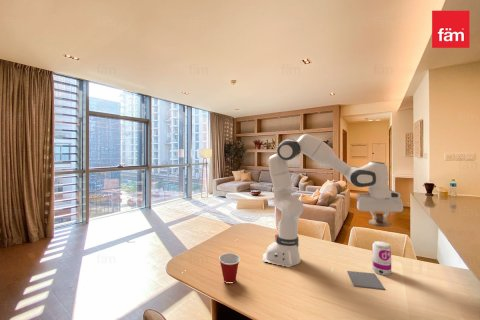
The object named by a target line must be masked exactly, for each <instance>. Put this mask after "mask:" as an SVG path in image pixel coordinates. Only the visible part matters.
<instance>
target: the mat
mask: <svg viewBox="0 0 480 320" xmlns="http://www.w3.org/2000/svg"><path fill="white" fill-rule="evenodd" d="M346 272H347V274H348V276H349V279H350V282H351V283H352V286H353V287H355V288H357V287H358V288H366V289H374V290H382V291H385V290H386V287H384V285H383V283H382V282H381V280H380V279H379V278H378V276H377V275H376V272H375V273H374V272H363V271H353V270H352V271H351V270H347V271H346Z"/></svg>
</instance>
